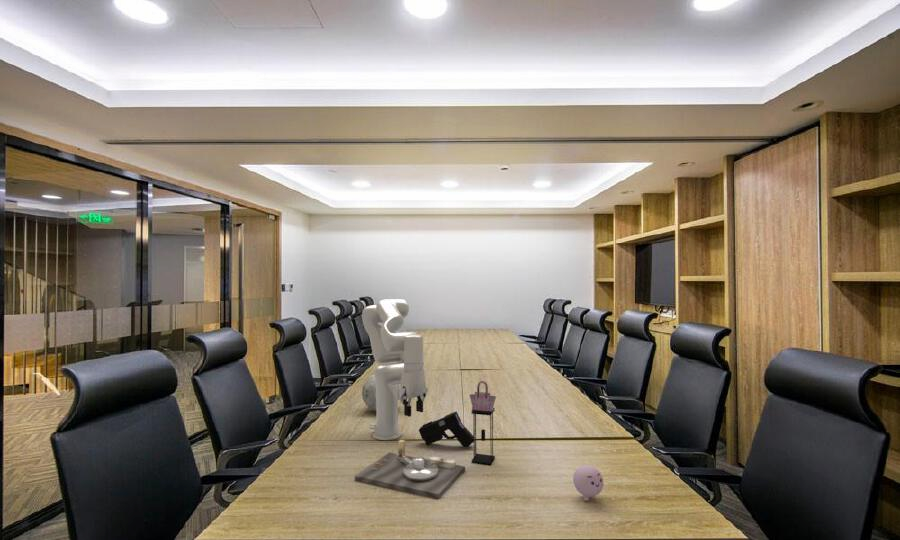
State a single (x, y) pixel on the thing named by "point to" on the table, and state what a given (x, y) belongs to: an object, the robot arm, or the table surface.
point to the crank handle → (416, 466)
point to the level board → (392, 476)
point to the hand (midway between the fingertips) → (413, 413)
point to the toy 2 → (588, 481)
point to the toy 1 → (449, 422)
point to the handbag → (482, 406)
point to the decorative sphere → (373, 392)
